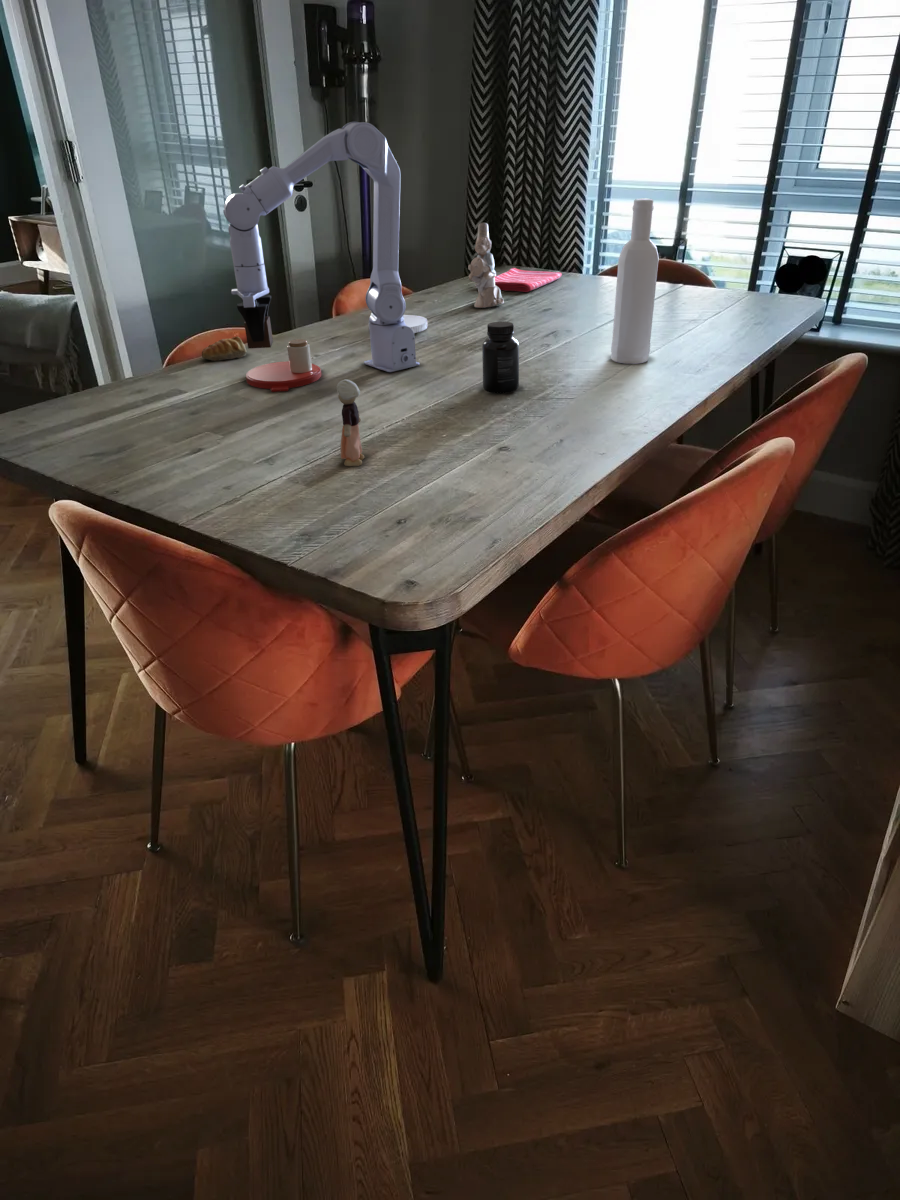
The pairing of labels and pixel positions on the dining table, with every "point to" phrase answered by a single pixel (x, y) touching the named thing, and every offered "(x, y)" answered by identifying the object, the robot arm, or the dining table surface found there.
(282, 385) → the red lid
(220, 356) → the pastry
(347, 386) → the grandmother figurine
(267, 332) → the walnut block
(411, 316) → the plastic lid
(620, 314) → the bottle
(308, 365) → the spice pot
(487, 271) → the figurine
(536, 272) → the dish towel
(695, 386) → the dining table surface
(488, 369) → the supplement bottle
